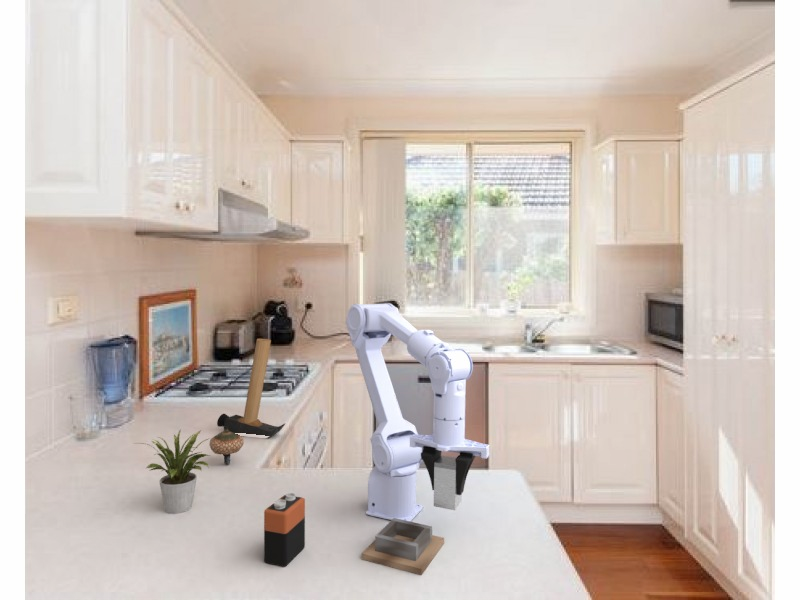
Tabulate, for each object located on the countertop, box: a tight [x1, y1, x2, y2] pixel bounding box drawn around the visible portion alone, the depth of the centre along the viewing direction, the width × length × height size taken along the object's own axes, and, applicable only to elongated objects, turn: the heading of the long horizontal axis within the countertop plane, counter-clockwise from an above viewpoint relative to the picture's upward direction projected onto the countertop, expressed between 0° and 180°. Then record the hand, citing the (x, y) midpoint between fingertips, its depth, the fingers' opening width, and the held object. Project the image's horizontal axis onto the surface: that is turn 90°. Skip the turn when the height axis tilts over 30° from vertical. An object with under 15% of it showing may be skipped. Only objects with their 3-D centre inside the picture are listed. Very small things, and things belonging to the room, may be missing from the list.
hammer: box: [216, 338, 286, 438], centre depth 154 cm, size 20×5×30 cm, turn 75°
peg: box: [433, 454, 463, 511], centre depth 92 cm, size 4×4×8 cm
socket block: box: [361, 518, 445, 576], centre depth 89 cm, size 11×11×4 cm
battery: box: [263, 492, 306, 567], centre depth 87 cm, size 4×7×10 cm, turn 162°
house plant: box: [133, 428, 212, 515], centre depth 103 cm, size 14×14×16 cm
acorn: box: [209, 427, 245, 466], centre depth 129 cm, size 8×8×10 cm
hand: (447, 490), depth 92 cm, fingers closed on peg, 4 cm apart
